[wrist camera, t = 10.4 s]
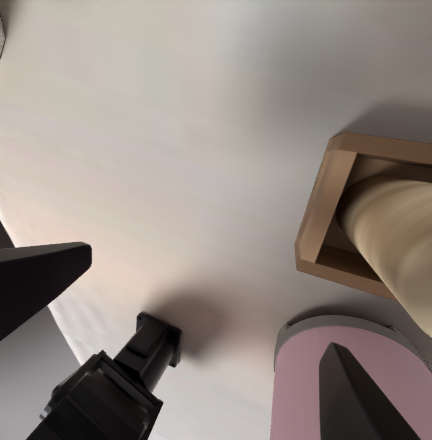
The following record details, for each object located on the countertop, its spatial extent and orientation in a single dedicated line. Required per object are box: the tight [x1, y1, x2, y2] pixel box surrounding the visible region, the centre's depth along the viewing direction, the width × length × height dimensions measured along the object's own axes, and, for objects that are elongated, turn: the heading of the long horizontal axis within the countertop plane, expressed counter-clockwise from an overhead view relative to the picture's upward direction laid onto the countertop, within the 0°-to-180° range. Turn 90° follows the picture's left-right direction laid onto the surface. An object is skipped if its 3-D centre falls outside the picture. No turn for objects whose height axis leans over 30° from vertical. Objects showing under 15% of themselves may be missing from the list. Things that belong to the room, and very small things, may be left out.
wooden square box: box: [295, 132, 432, 302], centre depth 13 cm, size 9×9×5 cm
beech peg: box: [336, 176, 432, 338], centre depth 10 cm, size 5×5×10 cm
